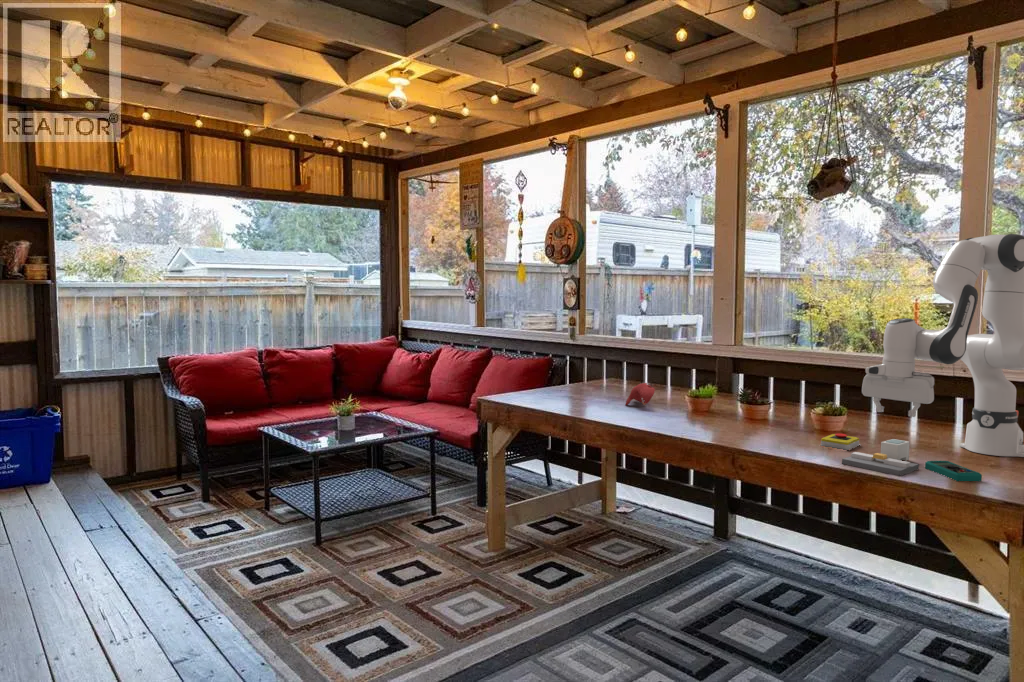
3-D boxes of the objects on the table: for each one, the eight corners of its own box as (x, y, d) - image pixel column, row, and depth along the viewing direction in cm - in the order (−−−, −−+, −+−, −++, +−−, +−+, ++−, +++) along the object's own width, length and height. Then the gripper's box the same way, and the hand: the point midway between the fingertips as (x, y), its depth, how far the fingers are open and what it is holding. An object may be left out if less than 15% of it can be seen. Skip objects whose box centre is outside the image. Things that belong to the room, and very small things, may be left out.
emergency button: (862, 433, 231) (845, 440, 220) (861, 446, 231) (845, 453, 221) (834, 429, 237) (817, 436, 227) (833, 441, 238) (816, 448, 227)
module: (892, 457, 214) (893, 438, 213) (908, 460, 210) (909, 441, 209) (880, 460, 209) (881, 441, 208) (897, 464, 205) (898, 444, 204)
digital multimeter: (958, 483, 186) (958, 473, 185) (923, 469, 200) (924, 459, 200) (983, 483, 186) (984, 473, 186) (947, 469, 201) (947, 459, 200)
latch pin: (876, 456, 204) (876, 452, 204) (886, 458, 202) (887, 454, 202) (872, 457, 203) (873, 454, 203) (883, 459, 200) (883, 455, 200)
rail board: (861, 457, 213) (861, 449, 213) (918, 469, 199) (918, 460, 199) (841, 463, 206) (842, 455, 205) (900, 475, 192) (900, 466, 192)
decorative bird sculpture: (641, 420, 298) (664, 396, 297) (626, 406, 297) (649, 382, 296) (630, 409, 326) (651, 387, 325) (616, 396, 325) (637, 374, 325)
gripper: (939, 373, 201) (936, 418, 202) (870, 366, 217) (867, 408, 218) (930, 374, 197) (927, 420, 198) (860, 367, 213) (858, 410, 214)
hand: (895, 414), depth 208 cm, fingers open, 8 cm apart
